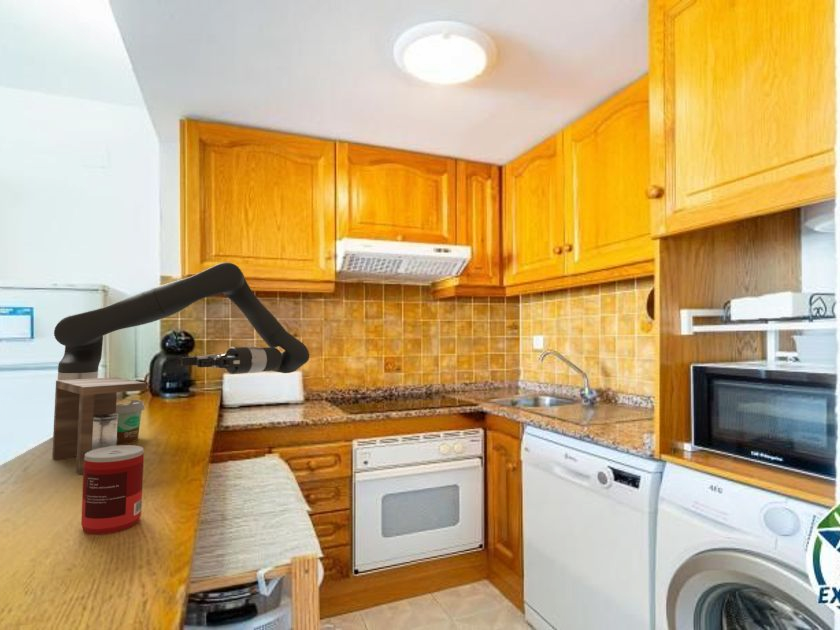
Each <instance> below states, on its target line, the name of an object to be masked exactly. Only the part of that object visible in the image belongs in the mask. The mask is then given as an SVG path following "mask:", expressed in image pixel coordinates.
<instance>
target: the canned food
mask: <svg viewBox="0 0 840 630" xmlns="http://www.w3.org/2000/svg"><path fill="white" fill-rule="evenodd" d="M144 453H145V452H144V447H142V446H140V445H134V444H133V445H130V444H128V445H127V444H126V445H125V444H118V445H116V446H109V447H103V448H98V449H95V450H91V451H89V452H87V453H86V454H85V458H84V469H83V474H82V495H81V497H82V498H81V519H80V520H81V523H80V524H81V527H82V531H83V532H85V533H87V534H91V535H108V534H113V533H118V532H121V531H122V532H123V531H126V530H128V529H130V528H132V527H134V526H135V525H137V524H138V523H139V521H140V519H141V517H142V505H143V503H142V502H143V501H142V500H143V485H144V484H143V481H144V459H145V458H144V457H145V455H144Z"/></svg>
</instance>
